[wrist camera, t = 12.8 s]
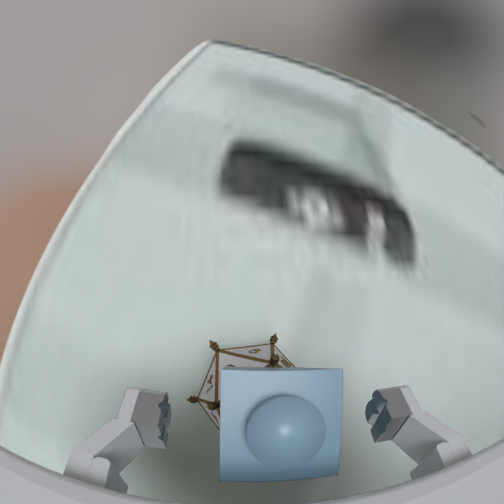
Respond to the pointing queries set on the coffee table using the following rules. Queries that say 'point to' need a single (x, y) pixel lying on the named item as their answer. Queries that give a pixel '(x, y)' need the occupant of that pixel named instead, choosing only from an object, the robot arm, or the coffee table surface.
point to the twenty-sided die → (235, 358)
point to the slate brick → (279, 423)
